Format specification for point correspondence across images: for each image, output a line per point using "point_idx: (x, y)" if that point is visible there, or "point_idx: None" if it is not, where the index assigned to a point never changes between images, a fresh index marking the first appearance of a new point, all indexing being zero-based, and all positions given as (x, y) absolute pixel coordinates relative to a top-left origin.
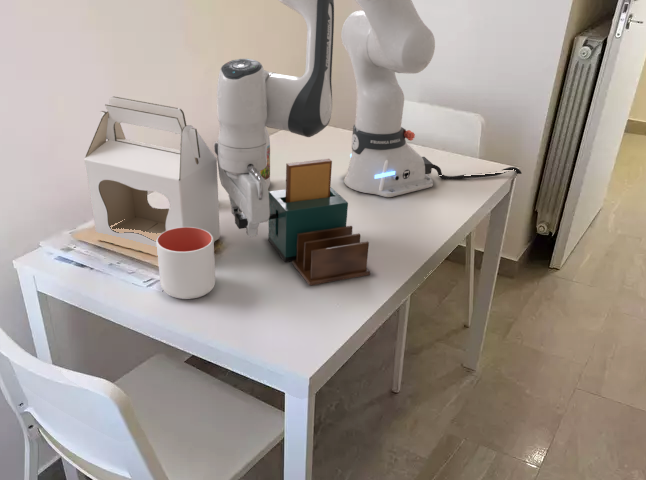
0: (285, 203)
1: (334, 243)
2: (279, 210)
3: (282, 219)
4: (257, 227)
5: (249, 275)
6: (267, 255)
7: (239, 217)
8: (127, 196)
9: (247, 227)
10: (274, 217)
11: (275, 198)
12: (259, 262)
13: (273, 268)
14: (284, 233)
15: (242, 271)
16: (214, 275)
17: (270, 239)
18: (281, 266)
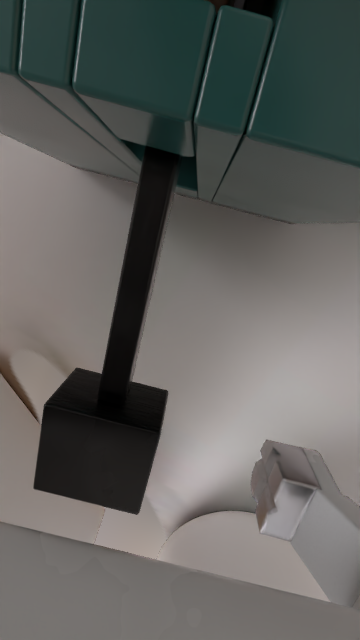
0: (314, 24)
1: None
2: (230, 160)
3: (315, 196)
4: (354, 506)
5: (284, 396)
6: (193, 254)
7: (107, 496)
8: None
9: (294, 546)
10: (172, 199)
11: (26, 70)
12: (225, 315)
13: (299, 296)
14: (326, 215)
15: (244, 400)
16: (306, 570)
17: (96, 171)
18: (307, 259)
